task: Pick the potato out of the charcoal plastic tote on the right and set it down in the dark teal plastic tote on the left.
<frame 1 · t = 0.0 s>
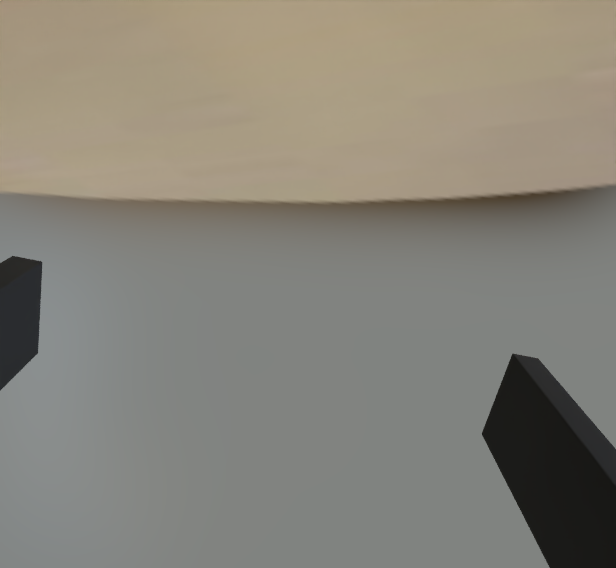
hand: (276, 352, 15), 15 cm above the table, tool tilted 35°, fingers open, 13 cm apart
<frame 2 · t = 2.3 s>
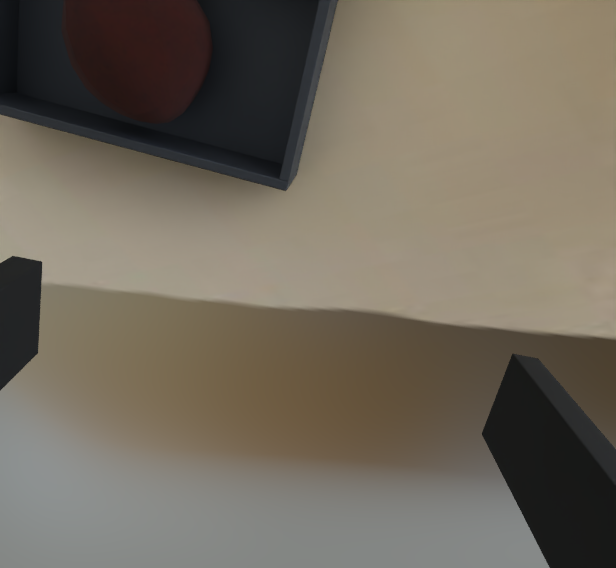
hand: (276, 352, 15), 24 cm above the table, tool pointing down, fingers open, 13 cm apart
potato: (165, 42, 34), resting on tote
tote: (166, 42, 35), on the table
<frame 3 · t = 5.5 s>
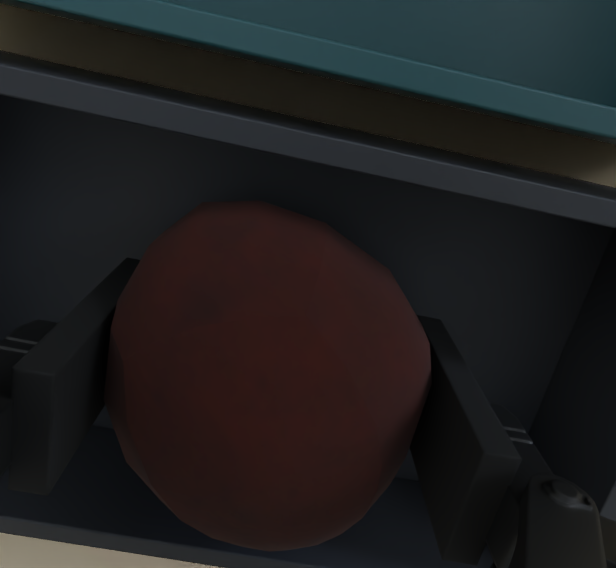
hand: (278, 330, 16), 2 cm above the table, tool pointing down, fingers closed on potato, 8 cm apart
potato: (279, 311, 18), resting on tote, touching gripper
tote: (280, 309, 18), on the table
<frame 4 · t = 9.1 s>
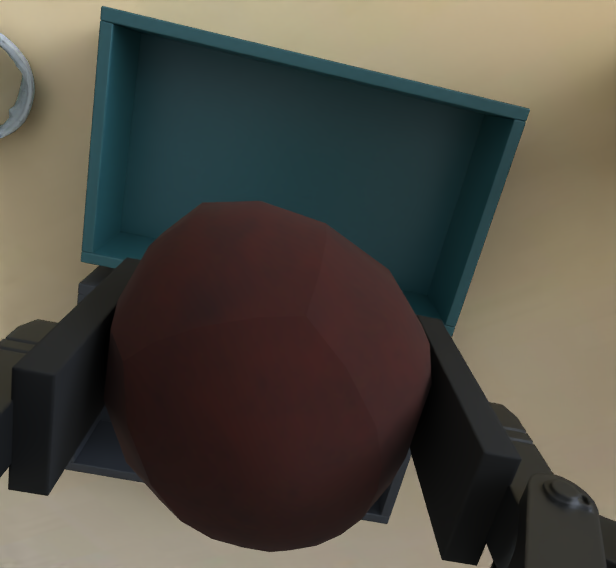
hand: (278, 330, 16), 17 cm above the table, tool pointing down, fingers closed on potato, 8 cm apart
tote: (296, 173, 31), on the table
potato: (279, 311, 18), point 15 cm above the table, touching gripper
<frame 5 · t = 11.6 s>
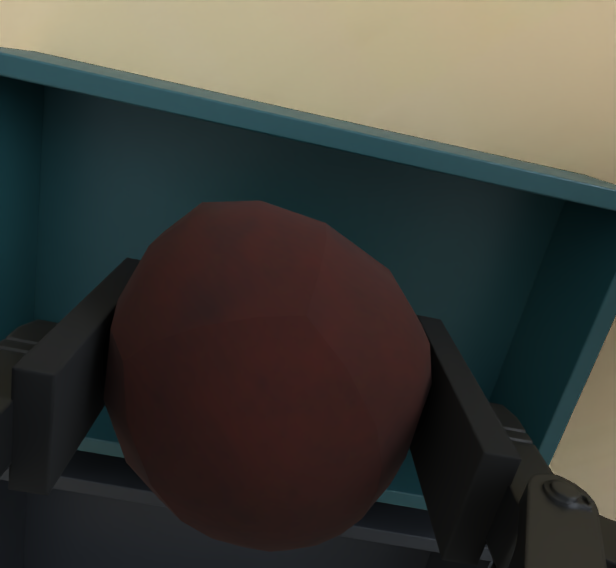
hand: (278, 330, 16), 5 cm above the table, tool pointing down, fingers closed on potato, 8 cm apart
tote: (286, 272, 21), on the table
potato: (279, 311, 18), point 4 cm above the table, touching gripper
when the fingers open (2 cm above the table, at t = 13.0 s): potato stays where it is, resting on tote.
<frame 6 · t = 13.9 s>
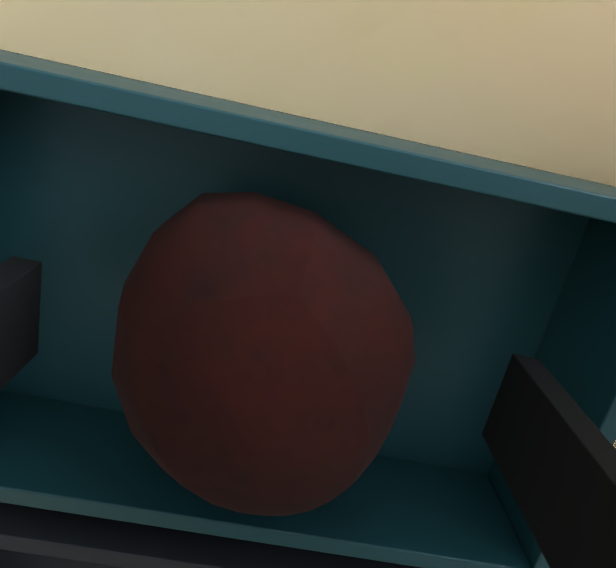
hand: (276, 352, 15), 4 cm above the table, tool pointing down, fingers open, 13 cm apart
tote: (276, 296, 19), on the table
potato: (274, 298, 19), resting on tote
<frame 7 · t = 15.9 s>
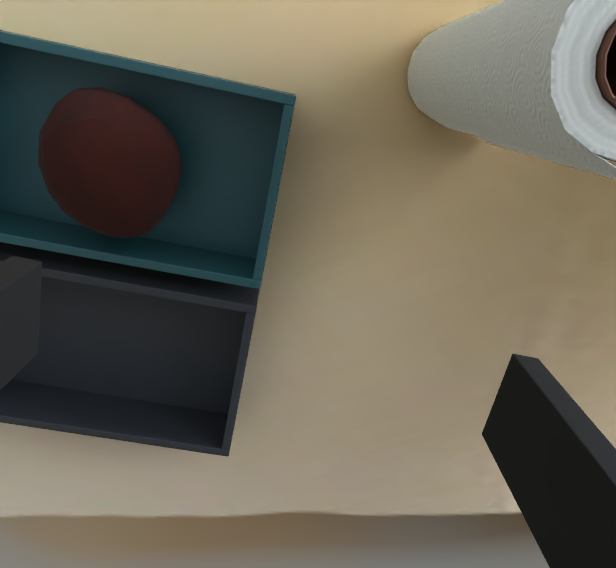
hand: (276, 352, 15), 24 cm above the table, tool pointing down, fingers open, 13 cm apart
paper towel roll: (449, 84, 36), on the table
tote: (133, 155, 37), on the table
potato: (131, 155, 37), resting on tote
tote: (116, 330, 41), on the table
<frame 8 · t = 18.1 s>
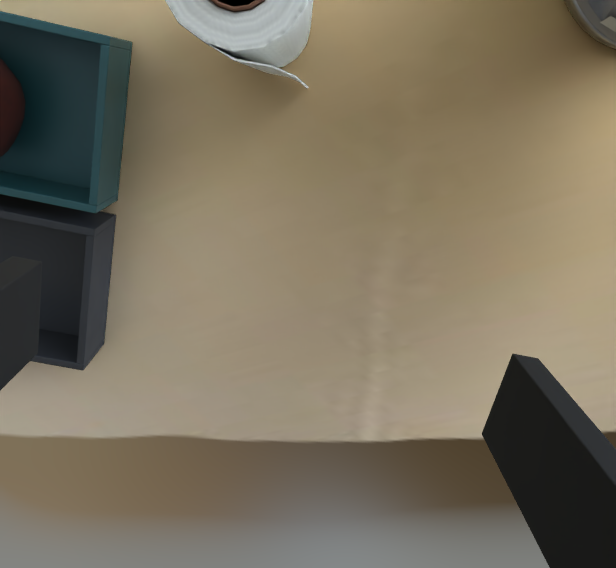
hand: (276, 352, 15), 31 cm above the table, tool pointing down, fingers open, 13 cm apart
paper towel roll: (269, 34, 40), on the table
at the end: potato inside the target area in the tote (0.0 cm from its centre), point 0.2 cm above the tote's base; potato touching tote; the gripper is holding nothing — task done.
